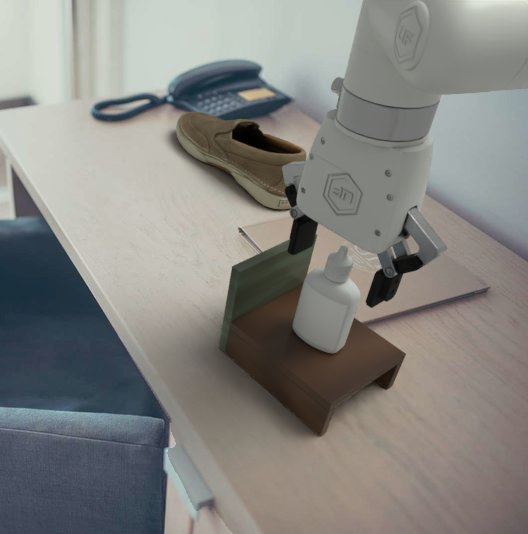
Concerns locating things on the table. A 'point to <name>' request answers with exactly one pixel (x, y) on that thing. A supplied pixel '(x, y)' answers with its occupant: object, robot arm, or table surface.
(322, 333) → the eye dropper bottle
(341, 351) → the shelf
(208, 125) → the slip on shoe
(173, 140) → the table surface
